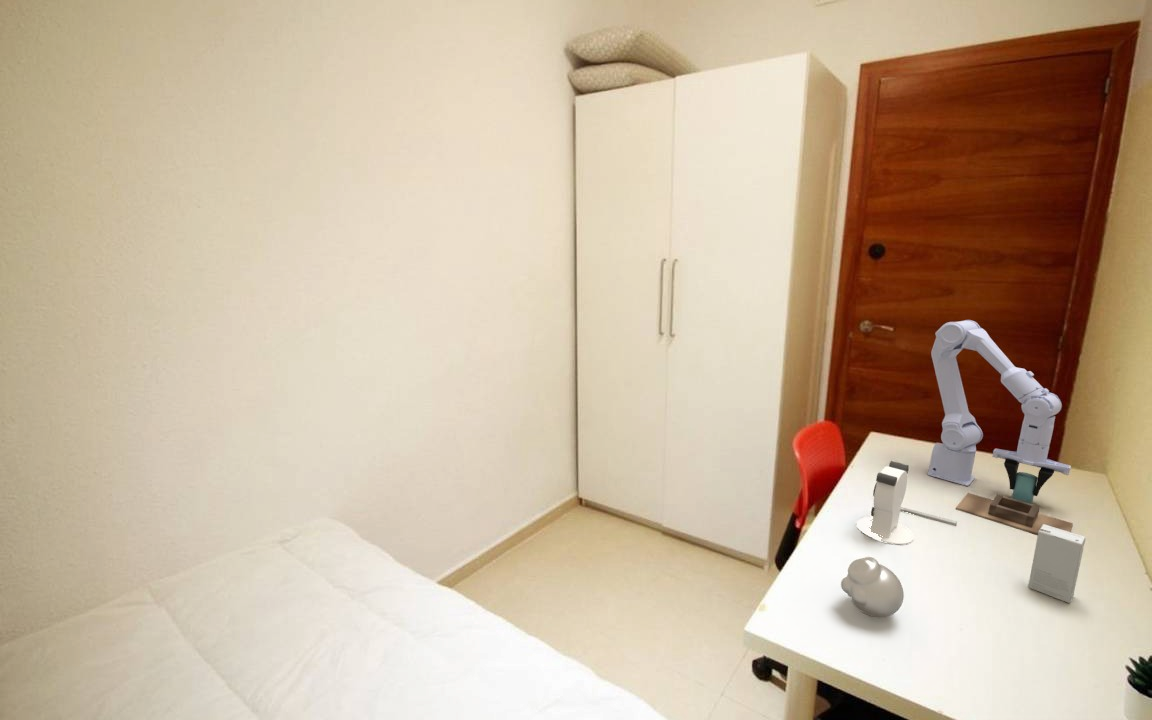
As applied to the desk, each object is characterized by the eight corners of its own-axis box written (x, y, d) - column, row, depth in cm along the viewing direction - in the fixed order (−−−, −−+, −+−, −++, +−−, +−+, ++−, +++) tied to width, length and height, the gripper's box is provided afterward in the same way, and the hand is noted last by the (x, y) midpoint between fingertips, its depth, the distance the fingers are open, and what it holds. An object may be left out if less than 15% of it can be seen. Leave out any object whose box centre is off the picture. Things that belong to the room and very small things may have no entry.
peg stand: (955, 509, 126) (957, 497, 125) (967, 494, 134) (969, 483, 133) (1065, 543, 111) (1068, 531, 111) (1072, 524, 119) (1075, 513, 118)
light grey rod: (956, 525, 119) (956, 521, 119) (955, 527, 118) (956, 523, 118) (894, 508, 127) (894, 505, 126) (893, 510, 126) (893, 507, 126)
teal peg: (1010, 500, 130) (1015, 475, 129) (1013, 495, 133) (1018, 470, 131) (1030, 506, 127) (1036, 480, 126) (1033, 501, 130) (1038, 475, 129)
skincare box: (1074, 594, 95) (1088, 536, 92) (1069, 605, 92) (1084, 545, 89) (1030, 578, 99) (1043, 522, 97) (1025, 588, 97) (1038, 530, 94)
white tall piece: (866, 511, 124) (874, 454, 121) (920, 530, 116) (930, 469, 113) (849, 530, 116) (857, 469, 113) (906, 551, 108) (917, 486, 105)
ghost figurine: (840, 587, 97) (846, 540, 94) (899, 605, 92) (907, 555, 90) (836, 616, 89) (843, 565, 87) (900, 637, 84) (909, 583, 82)
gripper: (994, 436, 129) (984, 486, 132) (1072, 454, 119) (1060, 507, 122) (999, 430, 134) (990, 478, 137) (1076, 446, 123) (1064, 498, 126)
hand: (1023, 491), depth 130 cm, fingers closed on teal peg, 4 cm apart
